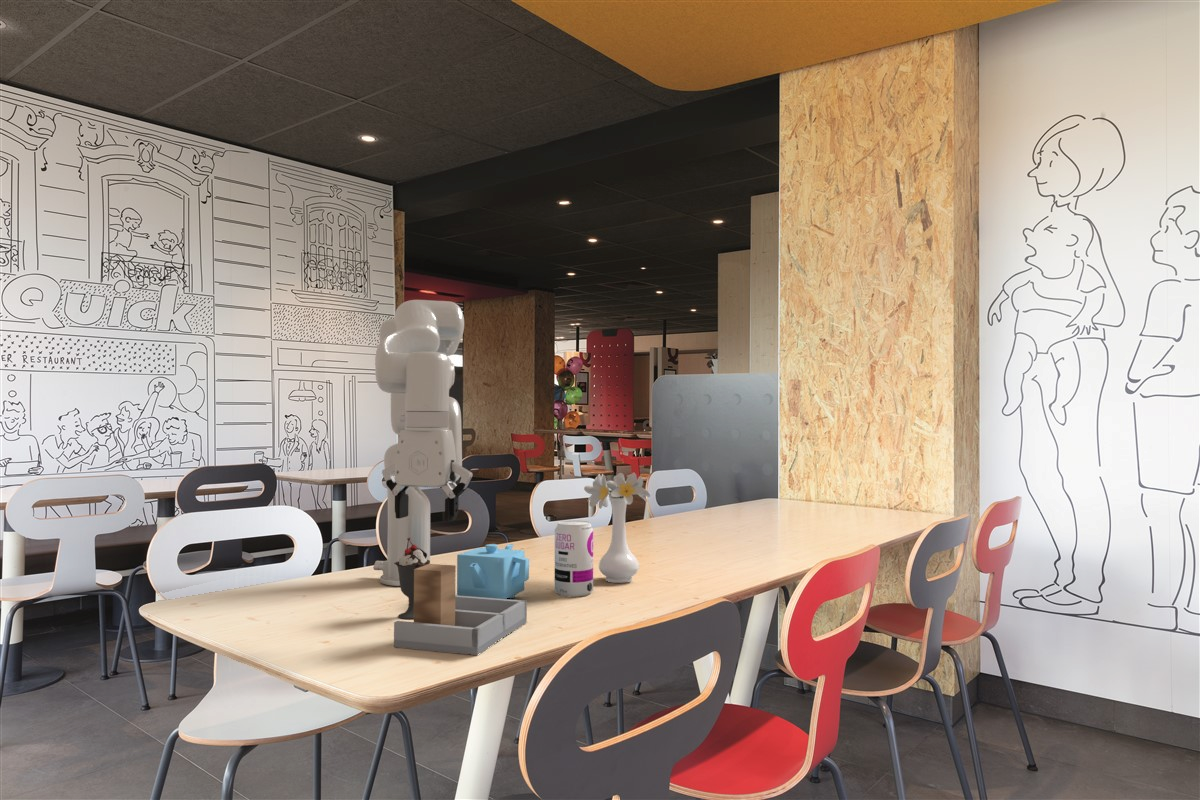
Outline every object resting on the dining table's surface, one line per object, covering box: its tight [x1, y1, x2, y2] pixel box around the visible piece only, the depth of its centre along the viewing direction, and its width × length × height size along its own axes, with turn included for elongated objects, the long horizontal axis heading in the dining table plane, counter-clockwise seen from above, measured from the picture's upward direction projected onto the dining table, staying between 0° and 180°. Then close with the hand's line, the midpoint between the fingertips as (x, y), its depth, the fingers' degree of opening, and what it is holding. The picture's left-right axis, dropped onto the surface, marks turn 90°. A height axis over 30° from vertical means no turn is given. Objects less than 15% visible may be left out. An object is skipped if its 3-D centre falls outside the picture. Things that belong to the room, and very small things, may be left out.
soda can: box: [554, 520, 594, 598], centre depth 162 cm, size 8×8×15 cm
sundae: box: [394, 538, 431, 620], centre depth 143 cm, size 7×7×15 cm
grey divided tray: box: [393, 594, 528, 656], centre depth 131 cm, size 15×20×4 cm
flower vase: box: [583, 472, 651, 584], centre depth 175 cm, size 13×18×25 cm
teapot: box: [456, 543, 530, 599], centre depth 157 cm, size 16×18×11 cm
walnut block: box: [413, 563, 457, 626], centre depth 128 cm, size 5×5×11 cm
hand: (426, 518), depth 134 cm, fingers open, 9 cm apart
